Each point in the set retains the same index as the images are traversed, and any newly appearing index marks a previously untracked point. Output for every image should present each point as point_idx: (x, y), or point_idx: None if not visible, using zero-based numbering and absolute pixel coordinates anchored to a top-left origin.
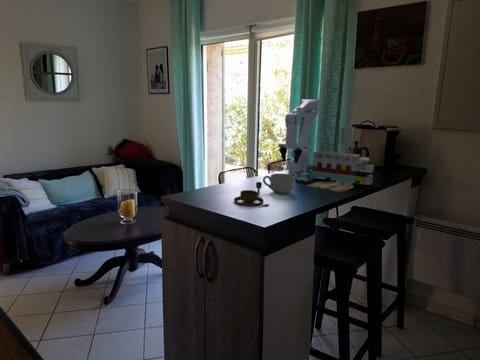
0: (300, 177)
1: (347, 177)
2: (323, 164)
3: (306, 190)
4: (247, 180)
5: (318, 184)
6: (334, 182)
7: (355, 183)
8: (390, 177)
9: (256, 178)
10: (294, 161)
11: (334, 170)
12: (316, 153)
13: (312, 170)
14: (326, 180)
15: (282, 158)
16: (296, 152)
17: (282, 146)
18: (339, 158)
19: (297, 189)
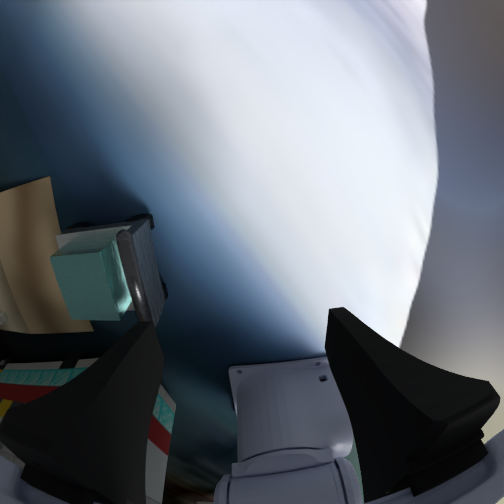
0: (106, 239)
1: (12, 376)
2: None
3: (4, 96)
4: (403, 10)
5: (20, 243)
6: (20, 326)
7: (6, 363)
8: None
9: (415, 95)
10: (142, 329)
11: (32, 396)
12: None
13: None
14: (76, 356)
15: (356, 324)
16: (33, 410)
17: (452, 485)
18: None
19: (35, 64)
